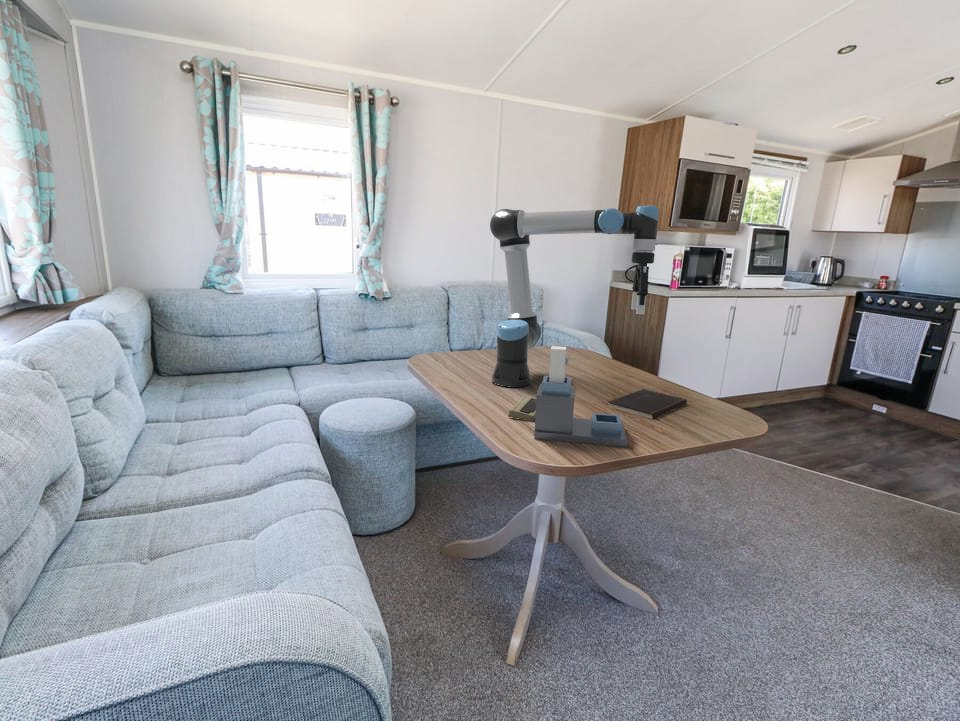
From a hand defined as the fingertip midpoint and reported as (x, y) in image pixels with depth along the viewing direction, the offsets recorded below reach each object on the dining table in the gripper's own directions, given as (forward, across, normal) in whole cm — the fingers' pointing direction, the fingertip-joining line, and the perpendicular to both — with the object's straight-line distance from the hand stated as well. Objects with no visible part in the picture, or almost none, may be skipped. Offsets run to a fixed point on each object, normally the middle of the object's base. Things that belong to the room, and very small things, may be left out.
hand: (637, 311), depth 176 cm
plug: (+17, -52, +27) cm, 61 cm away
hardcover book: (+29, -22, -3) cm, 37 cm away
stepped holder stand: (+28, -52, +20) cm, 63 cm away
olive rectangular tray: (+29, -37, +36) cm, 59 cm away
